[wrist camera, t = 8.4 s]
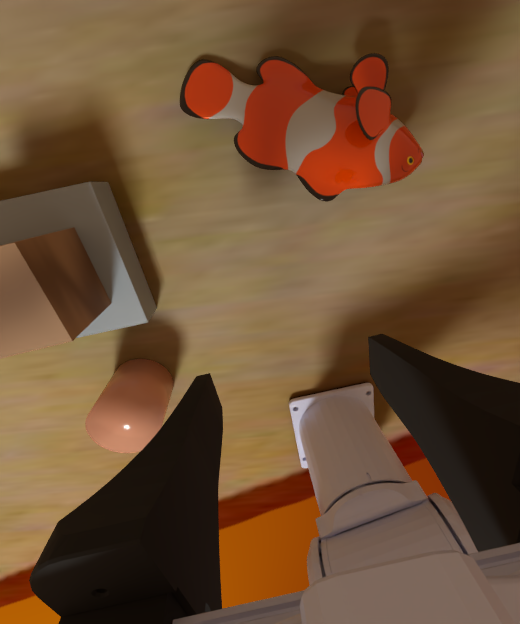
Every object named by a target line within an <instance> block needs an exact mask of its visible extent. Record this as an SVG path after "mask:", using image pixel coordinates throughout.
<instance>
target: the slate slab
mask: <svg viewBox="0 0 520 624" xmlns="http://www.w3.org/2000/svg"><path fill="white" fill-rule="evenodd" d="M73 227H74V228H75V230H76V232H77V234H78V236H79V238H80V240H81V242H82V244H83V246H84V248H85V250H86V252H87V254H88V256H89V258H90V260H91V262H92V264H93V266H94V268H95V270H96V272H97V275H98V277H99V279H100V281H101V283H102V285H103V287H104V289H105V291H106V293H107V295H108V297H109V299H110V301H111V304H110V305H109V306H108V307H107V308H106V309H105V310H104V311H103V312H102V313H101V314H100V315H99V316H98V317H97V318H96V319H95V320H94V321H93V322H92V323H91V324H90V325H89V326H88V327H87V328H86V329H84V330H83V331H82V332H81V333H80V334H79V335H78V336H77V337H76V338H78V337H83V336H88V335H92V334H97V333H102V332H106V331H111V330H116V329H120V328H125V327H130V326H134V325H139V324H144V323H148V322H149V320H150V318H151V317H152V315H153V314H154V312H155V310H156V309H157V307H156V304H155V302H154V299H153V297H152V294H151V291H150V289H149V286H148V284H147V281H146V279H145V276H144V273H143V271H142V268H141V266H140V263H139V260H138V258H137V255H136V253H135V250H134V248H133V245H132V242H131V240H130V237H129V235H128V232H127V229H126V227H125V224H124V222H123V219H122V216H121V214H120V211H119V209H118V206H117V204H116V201H115V198H114V196H113V193H112V191H111V188H110V185H109V183H108V182H86V183H81V184H76V185H72V186H67V187H62V188H58V189H53V190H48V191H44V192H39V193H35V194H30V195H25V196H21V197H16V198H11V199H7V200H2V201H0V245H4V244H8V243H12V242H16V241H20V240H25V239H29V238H33V237H37V236H41V235H45V234H49V233H53V232H57V231H61V230H65V229H69V228H73Z"/></svg>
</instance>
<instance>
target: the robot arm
mask: <svg viewBox="0 0 520 624" xmlns="http://www.w3.org/2000/svg"><path fill="white" fill-rule="evenodd" d="M368 340H369V359H370V374H371V376H372V378H373V380H374V382H375V384H376V385H377V387H378V389H379V391H380V392H381V394H382V395H383V397H384V398H385V399H386V401H387V402H388V404H389V405H390V406H391V408H392V409H393V410H394V412H395V413H396V414H397V416H398V417H399V418H400V420H401V421H402V422H403V424H404V425H405V426H406V428H407V429H408V431H409V432H410V433H411V435H412V436H413V437H414V439H415V440H416V442H417V443H418V445H419V446H420V448H421V450H422V451H423V453H424V455H425V456H426V458H427V460H428V461H429V463H430V465H431V466H432V468H433V469H434V471H435V473H436V475H437V477H438V478H439V480H440V482H441V484H442V485H443V487H444V489H445V491H446V492H447V494H448V496H449V498H450V499H451V501H452V502H451V501H449V500H447V499H445V498H443V497H441V496H440V495H439V494H437V493H433V494H431V495H429V496H428V498H427V496H426V495H425V493H424V492H423V490H422V488H421V487H420V485H419V484H418V482H417V481H412V480H411V478H410V477H409V475H408V473H407V472H406V470H405V468H404V467H403V465H402V463H401V462H400V460H399V458H398V457H397V455H396V453H395V452H394V450H393V448H392V447H391V445H390V443H389V442H388V440H387V439H386V437H385V435H384V434H383V432H382V430H381V429H380V427H379V425H378V424H377V422H376V420H375V419H374V389H373V386H372V384H371V383H363V384H359V385H354V386H349V387H345V388H340V389H336V390H331V391H326V392H322V393H317V394H312V395H308V396H303V397H298V398H294V399H291V400H290V401H289V407H290V412H291V417H292V422H293V427H294V432H295V437H296V442H297V447H298V452H299V457H300V462H301V466H302V467H303V468H309V472H310V476H311V480H312V483H313V487H314V491H315V495H316V498H317V502H318V506H319V509H320V513H321V516H320V517H318V518H316V523H317V527H318V531H319V535H320V536H319V537H317V538H314V539H312V541H311V544H310V550H309V553H308V557H307V567H308V576H309V583H310V586H309V587H308V588H306V589H305V591H300V592H296V593H291V594H287V595H282V596H278V597H273V598H269V599H265V600H260V601H255V602H251V603H247V604H242V605H237V606H233V607H228V608H224V609H222V600H221V583H220V558H219V525H218V482H219V469H220V458H221V447H222V435H223V416H222V406H221V403H220V400H219V398H218V395H217V392H216V389H215V386H214V384H213V381H212V378H211V375H210V373H209V374H205V375H200V376H197V377H196V378H195V380H194V381H193V382H192V384H191V386H190V387H189V389H188V390H187V392H186V393H185V395H184V396H183V398H182V400H181V401H180V403H179V404H178V405H177V407H176V408H175V410H174V411H173V413H172V414H171V415H170V417H169V418H168V420H167V421H166V422H165V424H164V425H163V426H162V428H161V429H160V430H159V431H158V432H157V434H156V435H155V436H154V437H153V438H152V440H151V441H150V442H149V443H148V444H147V445H146V446H145V447H144V448H143V450H142V451H141V452H140V453H139V454H138V455H137V456H136V457H135V458H134V459H133V460H132V461H131V462H130V463H129V464H128V465H127V466H126V467H125V468H124V469H123V470H121V471H120V472H119V473H118V474H117V475H116V476H115V477H114V478H113V479H112V480H110V481H109V482H108V483H107V484H106V485H105V486H103V487H102V488H101V489H100V490H99V491H98V492H96V493H95V494H94V495H93V496H91V497H90V498H89V499H88V500H86V501H85V502H84V503H82V504H81V505H80V506H79V507H77V508H76V509H75V510H73V511H72V512H71V513H69V514H68V515H67V516H65V517H64V518H63V519H61V520H60V521H59V522H58V523H57V525H56V527H55V529H54V531H53V533H52V535H51V537H50V538H49V540H48V542H47V544H46V546H45V548H44V550H43V552H42V554H41V556H40V558H39V560H38V562H37V563H36V565H35V567H34V569H33V571H32V573H31V577H30V580H29V581H30V585H31V588H32V591H33V592H34V593H35V594H36V596H37V597H38V598H40V599H41V600H42V601H43V602H44V603H45V604H46V605H48V606H49V607H50V608H51V609H52V610H54V611H55V612H56V613H57V614H58V615H60V616H61V619H60V621H59V624H520V383H517V382H513V381H509V380H505V379H501V378H497V377H493V376H489V375H485V374H482V373H478V372H475V371H472V370H469V369H466V368H463V367H460V366H457V365H454V364H451V363H448V362H446V361H443V360H441V359H438V358H435V357H433V356H431V355H428V354H426V353H424V352H421V351H419V350H417V349H414V348H412V347H410V346H408V345H406V344H404V343H401V342H399V341H397V340H395V339H393V338H390V337H388V336H386V335H383V334H379V335H375V336H371V337H368ZM368 391H369V392H368ZM367 392H368V393H367ZM294 407H297V408H294Z"/></svg>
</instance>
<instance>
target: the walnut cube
mask: <svg viewBox="0 0 520 624" xmlns="http://www.w3.org/2000/svg"><path fill="white" fill-rule="evenodd" d="M110 304H111V301H110V299H109V297H108V295H107V293H106V291H105V289H104V287H103V285H102V283H101V281H100V279H99V277H98V275H97V272H96V270H95V268H94V266H93V264H92V262H91V260H90V258H89V256H88V254H87V252H86V250H85V248H84V246H83V244H82V242H81V240H80V238H79V236H78V234H77V232H76V230H75V228H74V227H73V228H69V229H65V230H61V231H57V232H53V233H49V234H45V235H41V236H37V237H33V238H29V239H25V240H20V241H16V242H12V243H8V244H4V245H0V359H1V358H5V357H9V356H13V355H17V354H21V353H25V352H29V351H34V350H38V349H42V348H46V347H50V346H54V345H58V344H62V343H67V342H71V341H73V340H74V339H75V338H76V337H77V336H78V335H79V334H80V333H81V332H82V331H83V330H84V329H86V328H87V327H88V326H89V325H90V324H91V323H92V322H93V321H94V320H95V319H96V318H97V317H98V316H99V315H100V314H101V313H102V312H103V311H104V310H105V309H106V308H107V307H108V306H109V305H110Z"/></svg>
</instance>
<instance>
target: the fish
mask: <svg viewBox="0 0 520 624" xmlns="http://www.w3.org/2000/svg"><path fill="white" fill-rule="evenodd" d="M257 73H258V75H259V76H260V78H261V79H262V80H263V84H261V85H249V84H246V83H243V82H241V81H240V80H238V79H237V78H236V77H235V76H234V75H232V74H231V73H230V72H229V71H228V70H227V69H225V68H224V67H222V66H221V65H219V64H217V63H215V62H212V61H210V60H205V59H203V60H199V61H197V62H196V63H195V64H194V65H193V66H192V67H191V68H190V69H189V71H188V72H187V74H186V76H185V78H184V81H183V84H182V87H181V93H180V107H181V109H182V110H183V111H184V112H185V113H187V114H188V115H190V116H193V117H196V118H202V119H221V118H231V119H235V120H237V121H239V122H240V123H241V124H242V126H243V127H242V129H241V130H240V131H239V132H238V133H237V134H236V135H235V137H234V144H235V147H236V149H237V151H238V152H239V153H240V155H241V156H242V157H243V158H244V159H246V160H247V161H248V162H249V163H251V164H252V165H254V166H256V167H259V168H262V169H267V170H282V169H286V170H291V171H293V172H294V173H295V174H296V175H297V176H298V178H299V179H300V181H301V182H302V184H303V185H304V186H305V188H306V189H307V190H308V191H309V192H310V193H311V194H312V195H313V196H315V197H316V198H318V199H319V200H322V201H331V200H333V199H334V198H335V197H336V196H337V195H339V194H340V193H341V192H342V191H344V190H345V189H352V188H367V187H375V186H381V185H386V184H390V183H394V182H397V181H400V180H402V179H404V178H406V177H407V176H409V175H410V174H411V173H412V172H413V171H414V170H415V169H416V168H417V167H418V166H419V165H420V164H421V162H422V158H423V156H424V153H423V150H422V149H421V147H420V145H419V144H418V142H417V141H416V139H415V138H414V136H413V135H412V134H411V132H410V131H409V130H408V129H407V127H406V126H405V125H404V124H403V123H402V122H401V121H400V120H399V119H398V118H396V117H395V116H394V115H392V114H391V113H390V111H391V97H390V95H389V94H388V93H387V92H386V91H384V90H385V87H386V83H387V78H388V63H387V60H386V59H385V57H383V56H382V55H380V54H375V53H373V54H368V55H365V56H363V57H362V58H360V59H359V60H358V61H357V62H356V64H355V65H354V67H353V69H352V71H351V74H350V81H351V83H352V85H353V86H350V87H347V88H345V89H344V91H343V93H342V95H340V94H336V93H332V92H328V91H325V90H323V89H320V88H318V87H317V86H316V85H314V84H313V83H312V81H311V80H310V79H309V78H308V77H307V76H306V74H305V73H304V72H303V71H302V70H301V69H300V68H299V67H297V66H296V65H295V64H293V63H292V62H290V61H288V60H286V59H284V58H281V57H278V56H275V57H269V58H266V59H264V60H263V61H261V62H260V63H259V64H258V66H257Z"/></svg>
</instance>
